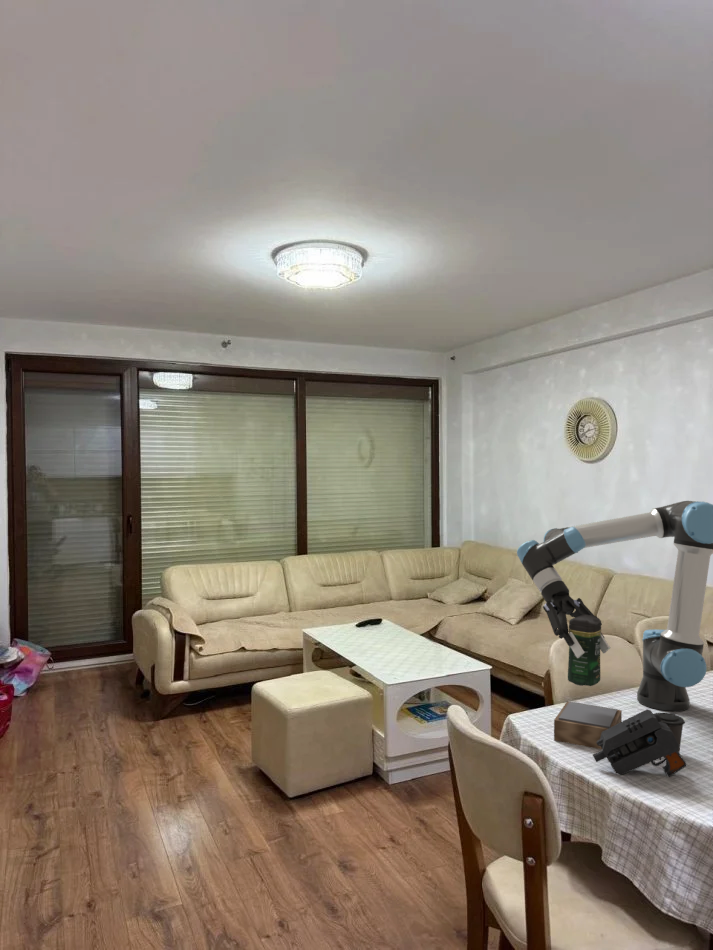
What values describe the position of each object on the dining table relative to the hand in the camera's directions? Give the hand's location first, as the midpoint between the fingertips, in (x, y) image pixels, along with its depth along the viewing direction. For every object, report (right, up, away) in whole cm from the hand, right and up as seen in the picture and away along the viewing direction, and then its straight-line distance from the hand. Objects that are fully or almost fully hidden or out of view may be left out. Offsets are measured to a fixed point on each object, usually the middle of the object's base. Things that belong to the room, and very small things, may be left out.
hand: (594, 652), depth 181 cm
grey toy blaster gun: (+3, -23, -22) cm, 32 cm away
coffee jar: (-2, -9, +3) cm, 10 cm away
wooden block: (-1, -23, +1) cm, 23 cm away
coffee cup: (+15, -23, -11) cm, 30 cm away
